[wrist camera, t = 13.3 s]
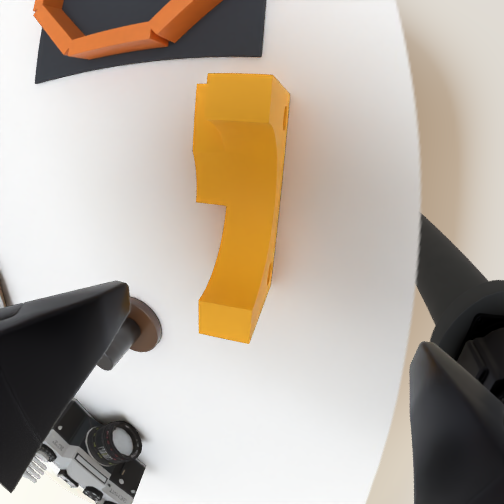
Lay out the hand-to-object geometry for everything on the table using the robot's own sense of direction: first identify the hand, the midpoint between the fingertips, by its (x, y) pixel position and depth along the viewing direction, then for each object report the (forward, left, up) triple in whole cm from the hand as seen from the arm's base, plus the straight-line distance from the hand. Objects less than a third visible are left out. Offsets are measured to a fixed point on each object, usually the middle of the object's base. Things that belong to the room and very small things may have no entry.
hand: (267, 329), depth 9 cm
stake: (+12, +10, -11) cm, 20 cm away
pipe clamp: (+3, -1, -12) cm, 12 cm away
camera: (+18, +30, -12) cm, 37 cm away
